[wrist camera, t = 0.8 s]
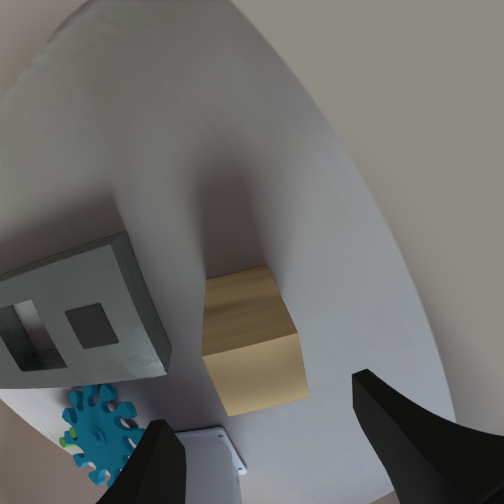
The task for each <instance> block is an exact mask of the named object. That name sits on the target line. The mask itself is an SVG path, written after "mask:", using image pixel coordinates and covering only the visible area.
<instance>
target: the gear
mask: <svg viewBox="0 0 504 504" xmlns="http://www.w3.org/2000/svg"><path fill="white" fill-rule="evenodd" d="M82 390H83V393H82V392H81V391H72V392H70V393H69V394H68V397H69V400H70V402H71V403H72V405H73V407H74V409H75V411H74V409H72V408H65V409H64V411H63V414H62V417H63V419H64V420H65V421H66V422H68V423H69V424H70V425H71V426H72V427H71V428H70V429H69V431H65V437H61V438H60V439H59V442H60V444H61V446H62V447H64V448H65V447H73V446H75V445H77V446H78V447H80V448H81V449H82V450H83V452H84V454H83V453H79V454H74V455H73V458H74V460H75V463H76V465H77V466H78V467H82V466H87V465H88V463H89V462H92V463H94V465H95V466H96V471H93V472H89V474H88V476H89V478H90V479H91V480H92V481H93V482H94V483H95V484H96V485H98V484H101V483H104V482H105V472H106V470H108V471H109V473H110V475H111V478H110V480H108V481H107V486H108V488H110V486H111V485H112V484H113V482H114V481H115V479H116V478H117V476H118V475H119V473H120V470H121V469H123V468H124V466H125V464H126V463H127V461H128V459H129V458H128V456H129V457H130V456H131V454H132V453H133V451H134V448H133V446H132V445H131V444H130V442H129V440H128V439H129V438H130V439H131V440H132V442H133V443H134V444H135V445H137V444H138V442H139V441H140V439H141V437H142V435H143V434H144V432H145V430H146V429H143V428H141V429H138V428H137V427H131V428H127V427H125V426H124V425H123V424H122V423H121V420H120V418H121V417H123V418H125V419H126V418H133V417H135V416H136V415H137V413H136V410H135V407H134V405H133V404H132V402H122V403H120V404H119V406H118V408H117V409H116V410H115V411H113V412H111V411H110V410H109V408H108V402H109V401H110V400H115V399H116V398H117V396H118V392H117V391H116V390H115V388H114V387H112V386H111V385H105V384H103V385H102V386H101V388H100V396H99V400H98V402H97V403H96V405H95V403H94V397H95V396H96V394H97V393H98V385H97V384H94V385H83V386H82ZM83 394H84V397H83ZM83 399H84V408H83Z"/></svg>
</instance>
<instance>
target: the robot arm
mask: <svg viewBox="0 0 504 504" xmlns="http://www.w3.org/2000/svg"><path fill="white" fill-rule="evenodd" d="M352 392H353V409H354V411H355V414H356V416H357V418H358V421H359V423H360V425H361V428H362V430H363V431H364V433H365V435H366V437H367V438H368V440H369V442H370V443H371V445H372V447H373V449H374V450H375V452H376V454H377V455H378V457H379V459H380V460H381V462H382V464H383V466H384V467H385V469H386V471H387V473H388V475H389V477H390V479H391V482H392V484H393V487H394V489H395V491H396V494H397V496H398V499H399V502H400V504H504V436H500V435H494V434H489V433H485V432H481V431H478V430H474V429H471V428H467V427H464V426H461V425H458V424H456V423H453V422H451V421H448V420H446V419H444V418H442V417H440V416H437V415H435V414H433V413H432V412H430V411H428V410H426V409H424V408H422V407H421V406H419V405H417V404H416V403H414V402H412V401H411V400H409V399H408V398H406V397H405V396H403V395H402V394H400V393H399V392H397V391H396V390H395V389H393V388H392V387H390V386H389V385H388V384H386V383H385V382H384V381H382V380H381V379H380V378H379V377H377V376H376V375H375V374H374V373H372V372H371V371H370V370H368V369H364V370H362V371H359V372H357V373H354V374H352ZM246 473H247V469H246V467H245V465H244V464H243V462H242V460H241V459H240V457H239V455H238V453H237V452H236V450H235V448H234V446H233V444H232V443H231V441H230V439H229V437H228V435H227V434H226V432H225V430H224V429H223V428H221V427H216V428H210V429H203V430H196V431H189V432H181V433H174V432H173V430H172V429H171V428H170V426H169V425H168V423H167V422H166V420H165V419H164V420H155V421H151V422H150V423H149V425H148V427H147V428H146V430H145V432H144V434H143V435H142V437H141V439H140V441H139V442H138V444H137V446H136V448H135V449H134V451H133V453H132V454H131V456H130V458H129V459H128V461H127V463H126V464H125V466H124V468H123V469H122V471H121V472H120V473H119V475H118V476H117V478H116V479H115V481H114V482H113V484H112V485H111V486H110V488H109V489H108V490H107V491H106V493H105V494H104V495H103V496H102V497H101V498H100V500H99V501H98V502H97V503H96V504H242V498H241V490H240V481H239V475H242V474H246Z"/></svg>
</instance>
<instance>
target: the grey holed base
mask: <svg viewBox="0 0 504 504" xmlns="http://www.w3.org/2000/svg"><path fill="white" fill-rule="evenodd" d="M31 299H32V301H33V304H34V306H35V308H36V310H37V312H38V314H39V316H40V318H41V320H42V322H43V324H44V326H45V328H46V330H47V332H48V334H49V335H50V337H51V339H52V341H53V343H54V344H55V346H56V348H57V349H51V350H44V351H38V352H36V350H35V348H34V346H33V345H32V343H31V341H30V339H29V337H28V336H27V334H26V332H25V330H24V328H23V326H22V324H21V322H20V320H19V318H18V316H17V314H16V312H15V310H14V308H13V306H12V305H13V304H17V303H20V302H24V301H27V300H31ZM171 352H172V347H171V345H170V342H169V340H168V338H167V336H166V333H165V331H164V329H163V327H162V324H161V322H160V320H159V317H158V315H157V312H156V310H155V308H154V305H153V303H152V300H151V298H150V295H149V293H148V290H147V288H146V285H145V282H144V280H143V277H142V274H141V272H140V269H139V266H138V264H137V261H136V258H135V255H134V252H133V249H132V246H131V244H130V241H129V238H128V235H127V232H126V231H124V232H121V233H118V234H115V235H112V236H109V237H105V238H102V239H99V240H96V241H93V242H90V243H87V244H84V245H81V246H78V247H75V248H73V249H70V250H67V251H64V252H61V253H58V254H55V255H53V256H50V257H47V258H44V259H42V260H39V261H36V262H33V263H31V264H28V265H25V266H23V267H20V268H18V269H15V270H12V271H10V272H7V273H5V274H2V275H0V389H31V388H55V387H71V386H83V385H94V384H104V383H113V382H121V381H129V380H136V379H143V378H150V377H156V376H162V375H167V373H168V368H169V362H170V357H171Z"/></svg>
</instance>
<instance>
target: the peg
mask: <svg viewBox="0 0 504 504" xmlns="http://www.w3.org/2000/svg"><path fill="white" fill-rule="evenodd" d="M201 357H202V359H203V361H204V364H205V366H206V368H207V371H208V373H209V375H210V378H211V380H212V382H213V384H214V387H215V389H216V391H217V393H218V395H219V397H220V400H221V402H222V404H223V406H224V408H225V410H226V412H227V414H228V416H234V415H239V414H244V413H248V412H253V411H257V410H261V409H266V408H270V407H274V406H278V405H281V404H285V403H289V402H292V401H296V400H299V399H303V398H306V397H309V391H308V385H307V380H306V374H305V368H304V363H303V357H302V352H301V347H300V341H299V336H298V332H297V330H296V327H295V325H294V323H293V321H292V319H291V316H290V314H289V312H288V310H287V308H286V306H285V303H284V301H283V299H282V297H281V295H280V292H279V290H278V288H277V286H276V284H275V282H274V279H273V277H272V275H271V273H270V271H269V268H268V266H267V265H263V266H259V267H255V268H252V269H248V270H244V271H240V272H236V273H232V274H229V275H225V276H221V277H217V278H213V279H209V280H206V290H205V304H204V320H203V337H202V356H201Z"/></svg>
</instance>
